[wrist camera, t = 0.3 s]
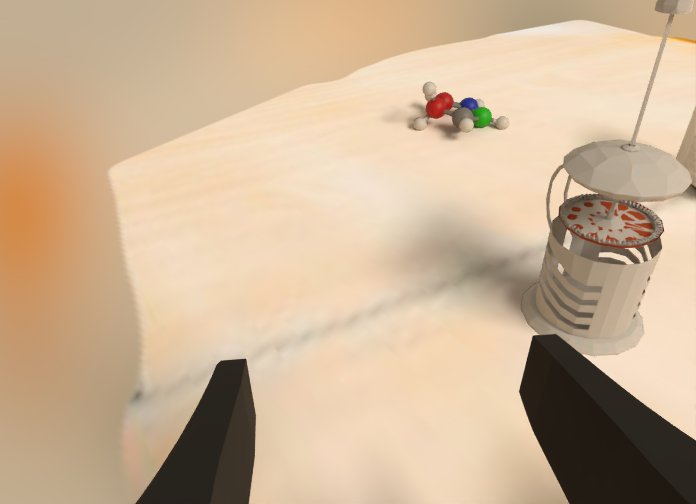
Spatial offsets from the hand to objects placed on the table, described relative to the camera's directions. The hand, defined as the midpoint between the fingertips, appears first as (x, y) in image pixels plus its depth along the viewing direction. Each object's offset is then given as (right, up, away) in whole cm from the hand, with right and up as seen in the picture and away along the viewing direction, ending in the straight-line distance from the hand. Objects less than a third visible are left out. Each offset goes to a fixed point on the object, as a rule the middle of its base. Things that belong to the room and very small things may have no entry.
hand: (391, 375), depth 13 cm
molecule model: (+16, +23, +66) cm, 71 cm away
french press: (+19, -2, +31) cm, 37 cm away
